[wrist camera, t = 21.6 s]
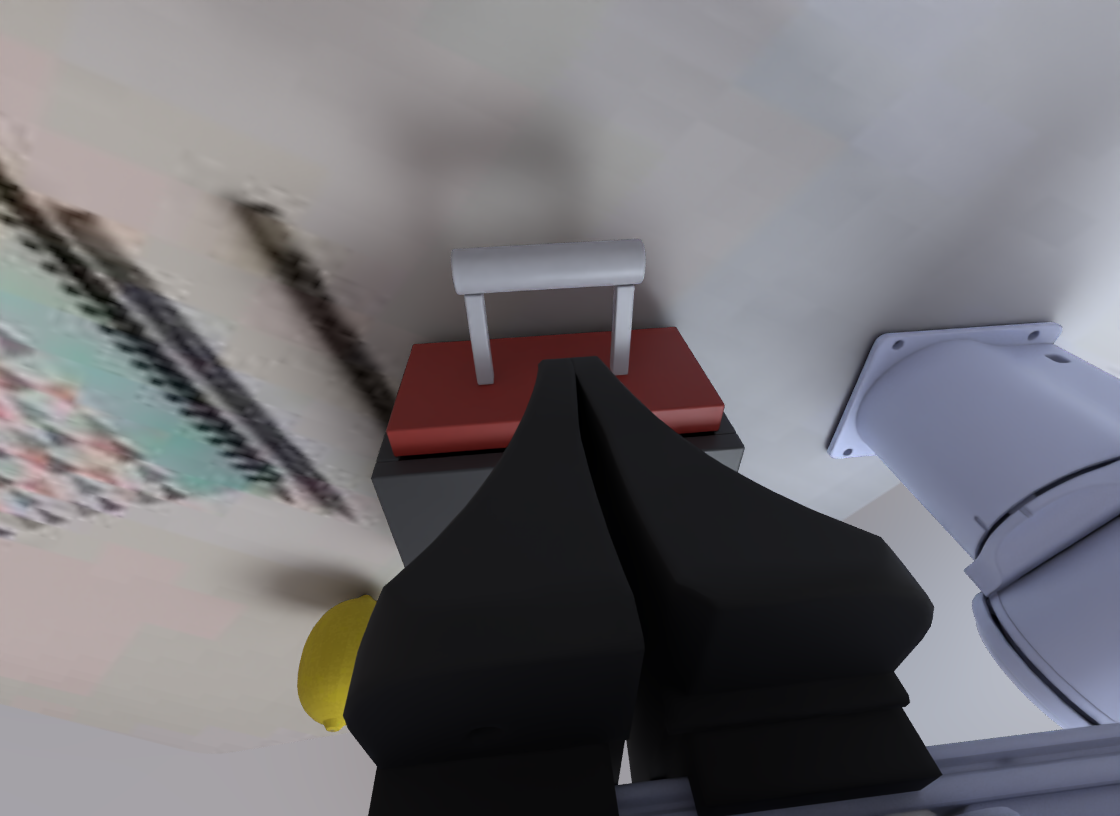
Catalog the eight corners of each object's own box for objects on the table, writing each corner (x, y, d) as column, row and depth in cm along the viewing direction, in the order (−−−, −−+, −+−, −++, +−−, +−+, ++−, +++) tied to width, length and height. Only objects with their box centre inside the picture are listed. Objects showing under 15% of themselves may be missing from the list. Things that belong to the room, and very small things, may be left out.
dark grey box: (407, 357, 21) (369, 478, 15) (680, 339, 22) (746, 446, 16) (457, 553, 30) (446, 679, 24) (650, 535, 31) (686, 652, 25)
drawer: (383, 223, 17) (338, 287, 12) (692, 208, 18) (759, 262, 13) (460, 542, 28) (452, 638, 23) (648, 524, 29) (676, 614, 24)
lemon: (305, 596, 31) (254, 735, 25) (359, 561, 30) (320, 700, 23) (373, 626, 34) (342, 756, 28) (426, 595, 33) (407, 726, 26)
